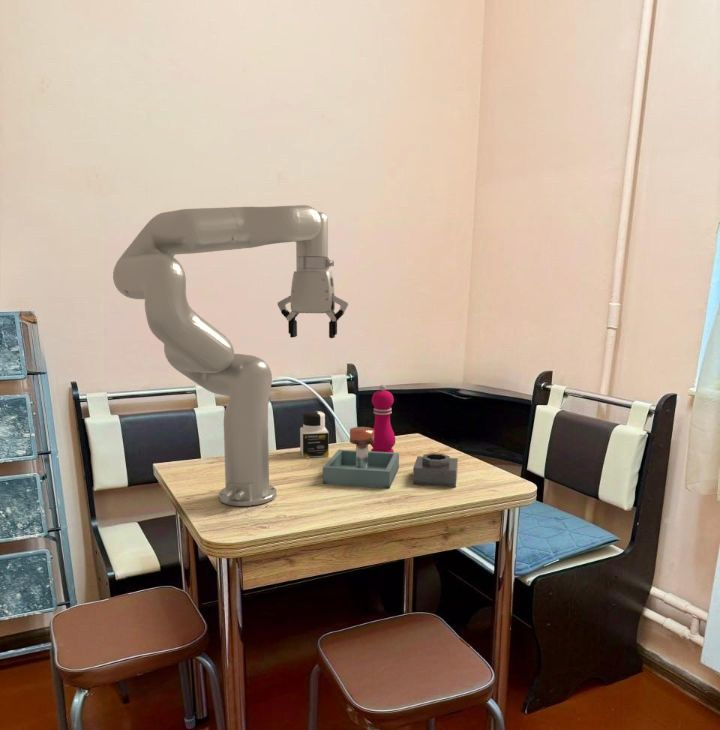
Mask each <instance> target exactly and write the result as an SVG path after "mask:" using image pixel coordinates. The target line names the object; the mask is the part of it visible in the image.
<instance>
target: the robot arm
mask: <svg viewBox="0 0 720 730" xmlns="http://www.w3.org/2000/svg"><path fill="white" fill-rule="evenodd" d="M293 242H294V243H295V244H296V246H295V248H296V249H295V250H296V252H295V254H296V263H295V264H296V265H295V266H296V268H295V269H296V270H295V271H293V274H292V280H291V287H290V288H291V289H290V295H289V296H287V297H285V298H284V299H282V300H280V301H278V302H277V307H278V308H279V311H280V313H281V315H283V317H285V319H286V320H287V321H288V322H287V323H288V326H287V327H288V329H287V330H288V334H289V337H290V338H291V339H292V338H296V337H297V336H298V322H297V319H296V318H297V317H298V315H299V314H326V315H327V316H328V318H329V319H330V321H329V322H328V338H329V339H334V338H336V335H337V334H338V321H339V319H341V317H343V316H344V315H345V312H346V310H347V308H348V307H349V302H348V301H345V300H343V299H342V298H340V297H338V296H336V295H335V284H334V278H333V273H332V271H329V269H330V268H332V267H334V266H335V261H334V260H331V259H330V258H329V219H328V216H327V215H326V213H324V212H321V211H320V212H319V211H317V209H315V207H313V206H311V205H306V204H301V205H280V206H279V205H277V206H231V207H230V206H229V207H203V208H201V207H200V208H198V207H197V208H185V209H184V208H182V209H177V210H172V211H165V212H160V213H158V214H156V215H155V216H153V217H152V218H151V219H150V220H149V221H148V222H147V223H146V224H145V226H143V228H142V229H141V231H139V233H138V234H137V235H136V236H135V238H134V239H133V241H132V242H131V243H130V244H129V246H128V247H127V248H126V249H125V251H124V252H123V253H122V254H121V256H120V257H119V258H118V260H117V261H116V263H115V265H114V267H113V271H112V279H113V283H114V285H115V288H116V289H117V291H118V292H119V294H122V296H125V297H127V298H129V299H132V300H133V299H134V300H144V309H145V310H144V311H145V316H146V317H145V318H146V322H147V325H148V327H149V329H150V331H151V333H152V334H153V335H154V337H156V339H158V340H159V341H160V342H161V343H163V350H164V351H163V352H164V355H165V358H166V360H167V362H168V363H169V364H170V365H171V367H173V368H174V370H176V371H178V372H179V373H180V374H181V375H184V376H185V377H187V378H188V379H189V380H191V381H192V382H194V383H195V384H197V385H198V386H200V387H202V388H203V389H204V390H207V391H208V392H211V393H213V394H216V395H220V396H226V397H228V402H227V405H226V408H225V411H224V414H223V415H224V416H223V441H224V442H223V443H224V477H225V479H224V480H225V486H224V487H223V488H222V489H220V490H219V492H218V500H219V501H220V502H221V503H223V504H225V505H229V506H232V507H233V506H234V507H250V506H251V507H252V505H253V506H257V505H263V504H265V503H268V502H270V501H272V500H273V499H275V498H276V496H277V488H276V487H275V486H273V485H272V484H270V468H269V467H270V465H269V464H270V463H269V462H270V460H269V459H270V457H269V453H270V452H269V451H270V450H269V448H270V447H269V402H270V394H271V389H272V388H271V387H272V382H273V375H272V371H271V370H272V369H271V368H270V366H269V364H268V363H267V362H266V361H264V360H263V359H262V358H260V357H257V356H256V355H250V354H242V353H235V349H234V346H233V344H232V342H231V341H230V339H229V338H228V337H227V336H226V335H225V334H223V333H222V332H221V331H220V330H219V329H217V328H216V327H214V326H213V325H211V324H210V323H209V322H208V321H207V320H205V318H204V317H201V316H200V315H199V314H198V313H197V312H196V311H195V310H193V309H192V308H191V306H190V305H189V302H188V299H187V292H186V291H187V288H186V287H187V278H186V273H185V270H184V267H183V265H182V264H181V263H180V261H178V260H177V259H176V258H175V257H174V256H176V255H186V254H187V255H188V254H189V255H191V254H200V253H201V254H202V253H213V252H223V251H231V250H242V249H252V248H257V247H263V246H268V245H275V244H284V243H293ZM289 303H290V310H291V311H289V310H288V309H287V307H286V306H287V304H289ZM336 304H337V305H339V310H338V311H336V312H335V308H336Z"/></svg>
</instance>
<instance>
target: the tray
mask: <svg viewBox="0 0 720 730" xmlns="http://www.w3.org/2000/svg"><path fill="white" fill-rule="evenodd" d="M399 468H400V452H394V453H392V452H374V451H371V450H368V469H366V468H356V449H355V450H354V449H353V450H352V449H339V448H338V450H336V452H335V453H334V454H333V455H332V457H330V458H329V460H328V461H327V462H326V463H325V464H324V466H322V484H324V485H335V486H336V485H337V486H339V485H340V486H351V487H366V488H367V487H368V488H379V489H390V488H391V486H392V484H393V482H394V480H395V477H396V475H397V474H398V471H399Z"/></svg>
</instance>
